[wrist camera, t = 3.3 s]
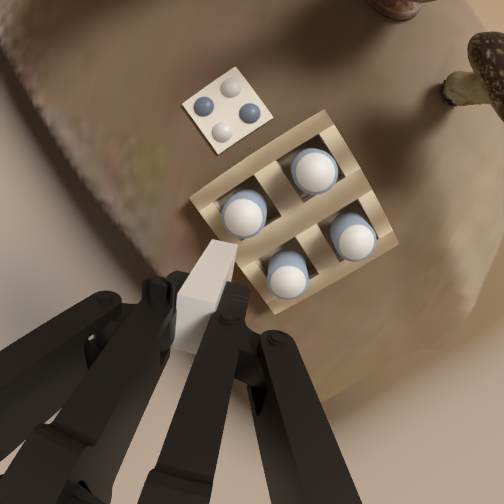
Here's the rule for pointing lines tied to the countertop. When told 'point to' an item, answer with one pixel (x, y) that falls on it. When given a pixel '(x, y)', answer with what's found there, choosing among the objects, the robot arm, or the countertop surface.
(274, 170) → the wooden compartment tray
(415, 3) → the mortar and pestle
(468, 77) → the mushroom
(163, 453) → the robot arm
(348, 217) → the button
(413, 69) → the countertop surface
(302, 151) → the button
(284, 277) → the button
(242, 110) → the card
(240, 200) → the button
